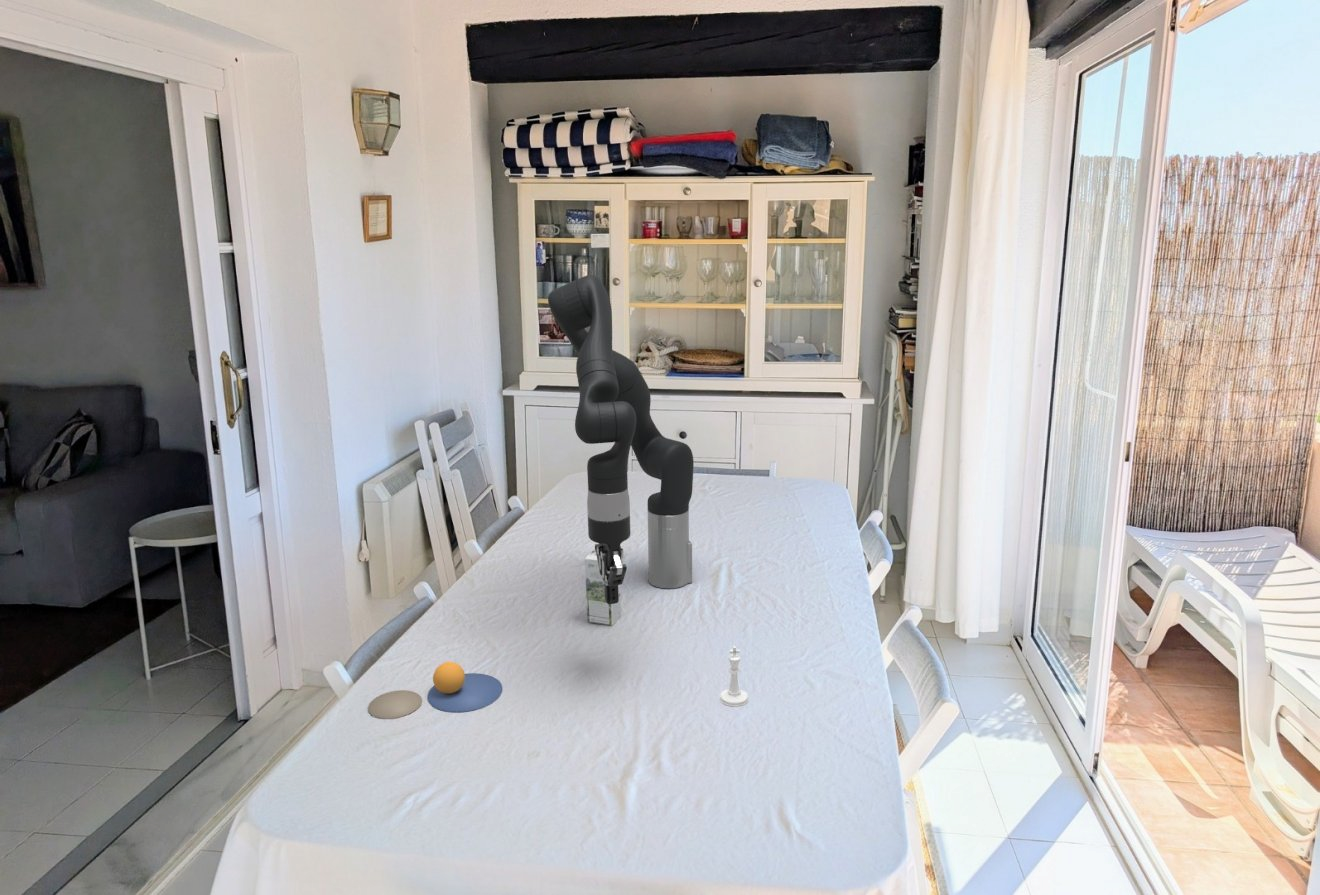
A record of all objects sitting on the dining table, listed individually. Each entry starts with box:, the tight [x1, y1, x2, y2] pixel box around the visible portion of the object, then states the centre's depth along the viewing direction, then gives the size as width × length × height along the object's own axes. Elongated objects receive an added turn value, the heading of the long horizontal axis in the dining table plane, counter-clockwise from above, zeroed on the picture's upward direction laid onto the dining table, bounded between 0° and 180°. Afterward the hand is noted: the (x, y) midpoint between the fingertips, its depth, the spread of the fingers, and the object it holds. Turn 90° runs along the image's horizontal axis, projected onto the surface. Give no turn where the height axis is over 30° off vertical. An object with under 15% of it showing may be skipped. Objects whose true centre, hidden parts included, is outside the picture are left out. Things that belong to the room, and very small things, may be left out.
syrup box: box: [584, 549, 623, 627], centre depth 188 cm, size 6×6×14 cm
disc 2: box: [427, 672, 503, 713], centre depth 162 cm, size 13×13×1 cm
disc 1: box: [367, 689, 423, 720], centre depth 158 cm, size 9×9×1 cm
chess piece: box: [719, 645, 749, 708], centre depth 158 cm, size 5×5×10 cm
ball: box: [432, 661, 466, 694], centre depth 162 cm, size 6×6×6 cm
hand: (611, 602), depth 167 cm, fingers closed
